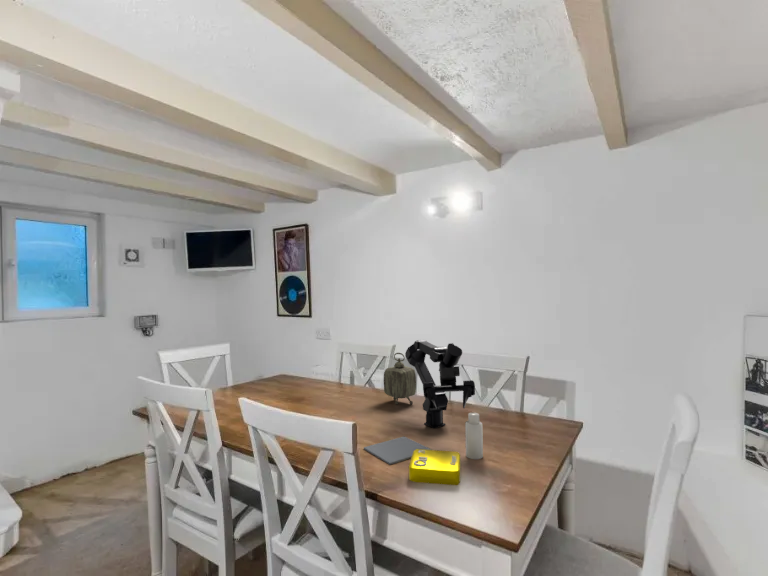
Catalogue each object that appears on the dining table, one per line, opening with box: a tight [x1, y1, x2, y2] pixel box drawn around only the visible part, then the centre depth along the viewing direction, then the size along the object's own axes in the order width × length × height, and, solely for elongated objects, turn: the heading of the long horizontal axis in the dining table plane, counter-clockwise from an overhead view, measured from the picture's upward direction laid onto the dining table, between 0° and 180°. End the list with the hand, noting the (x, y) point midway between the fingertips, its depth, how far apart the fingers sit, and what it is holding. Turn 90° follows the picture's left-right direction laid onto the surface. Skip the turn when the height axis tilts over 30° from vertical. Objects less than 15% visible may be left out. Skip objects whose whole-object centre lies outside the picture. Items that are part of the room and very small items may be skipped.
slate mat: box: [363, 436, 433, 466], centre depth 141 cm, size 18×16×1 cm
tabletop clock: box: [383, 352, 417, 405], centre depth 199 cm, size 14×9×25 cm, turn 46°
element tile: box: [408, 449, 461, 486], centre depth 124 cm, size 15×15×5 cm
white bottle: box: [464, 412, 484, 460], centre depth 136 cm, size 6×6×14 cm
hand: (450, 408), depth 142 cm, fingers open, 9 cm apart
